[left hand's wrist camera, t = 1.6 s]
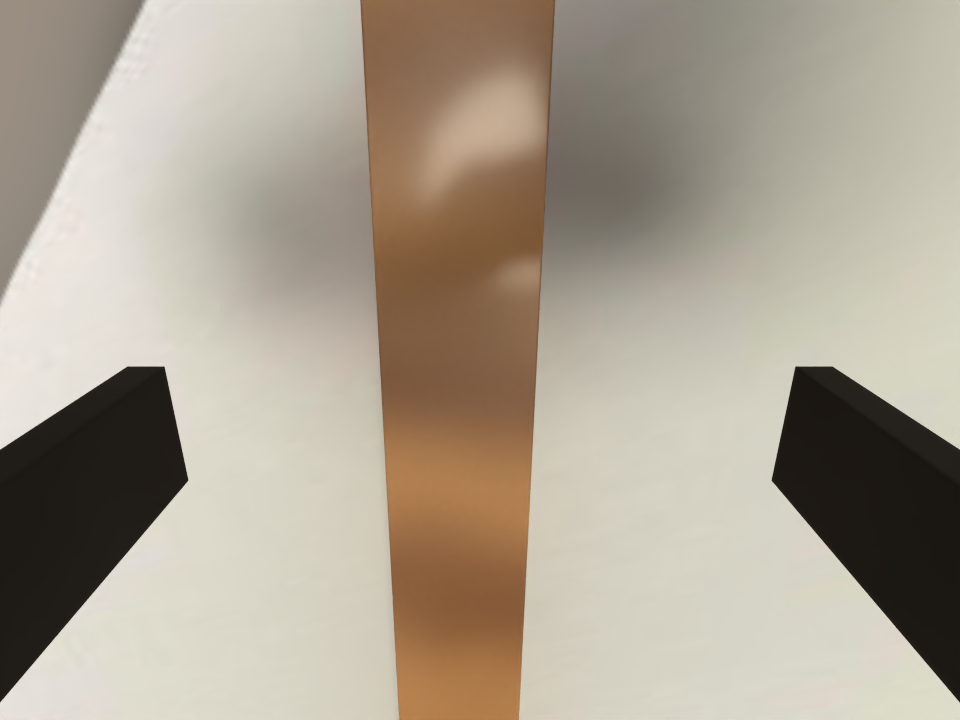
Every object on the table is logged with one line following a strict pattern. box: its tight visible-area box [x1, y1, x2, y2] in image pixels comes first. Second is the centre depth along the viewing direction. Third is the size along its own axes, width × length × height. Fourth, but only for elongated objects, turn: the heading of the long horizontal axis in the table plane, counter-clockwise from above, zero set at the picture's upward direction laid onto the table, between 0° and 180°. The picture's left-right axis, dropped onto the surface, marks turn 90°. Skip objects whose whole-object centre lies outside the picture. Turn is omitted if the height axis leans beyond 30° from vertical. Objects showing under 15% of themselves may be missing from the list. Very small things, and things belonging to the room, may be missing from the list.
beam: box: [360, 0, 555, 720], centre depth 30 cm, size 61×5×8 cm, turn 179°
